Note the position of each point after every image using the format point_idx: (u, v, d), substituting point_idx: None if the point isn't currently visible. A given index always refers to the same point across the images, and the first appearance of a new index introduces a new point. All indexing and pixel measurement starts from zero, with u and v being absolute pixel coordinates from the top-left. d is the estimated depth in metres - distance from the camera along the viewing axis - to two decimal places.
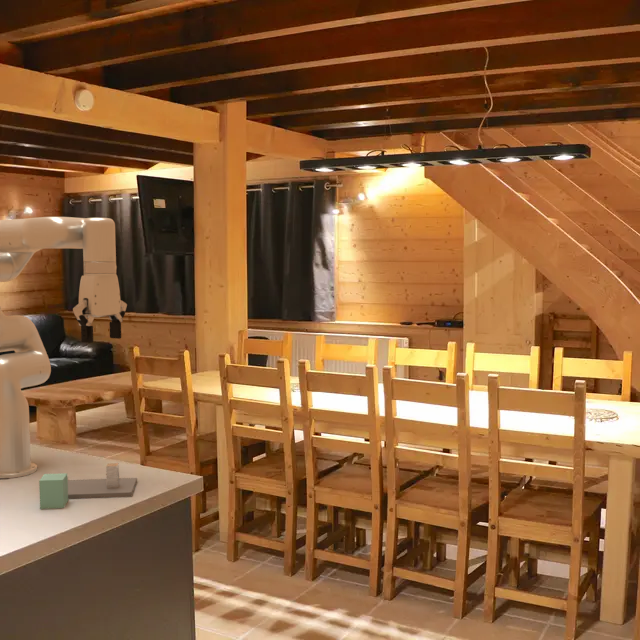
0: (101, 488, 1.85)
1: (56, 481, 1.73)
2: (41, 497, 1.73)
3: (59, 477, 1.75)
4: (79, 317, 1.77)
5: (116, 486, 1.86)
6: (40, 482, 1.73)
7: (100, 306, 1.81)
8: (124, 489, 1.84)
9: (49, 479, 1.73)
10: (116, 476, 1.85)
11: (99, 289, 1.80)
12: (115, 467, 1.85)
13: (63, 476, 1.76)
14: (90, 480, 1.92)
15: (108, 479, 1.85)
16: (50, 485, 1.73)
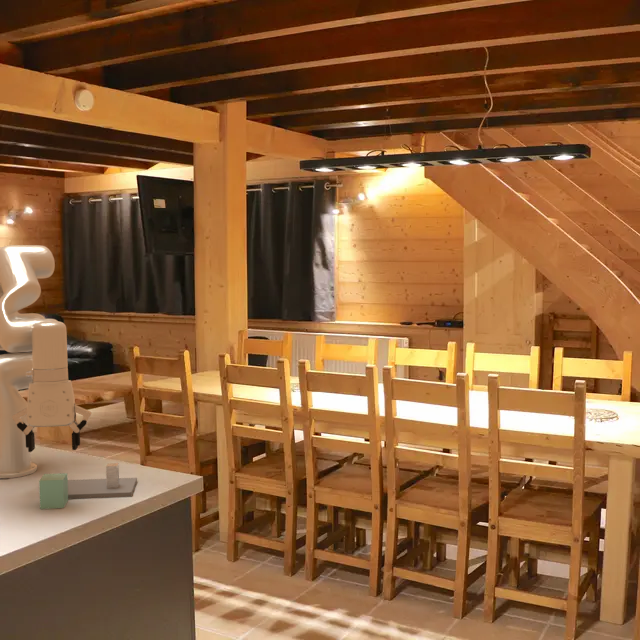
0: (101, 488, 1.85)
1: (56, 481, 1.73)
2: (41, 497, 1.73)
3: (59, 477, 1.75)
4: None
5: (116, 486, 1.86)
6: (40, 482, 1.73)
7: None
8: (124, 489, 1.84)
9: (49, 479, 1.73)
10: (116, 476, 1.85)
11: None
12: (115, 467, 1.85)
13: (63, 476, 1.76)
14: (90, 480, 1.92)
15: (108, 479, 1.85)
16: (50, 485, 1.73)
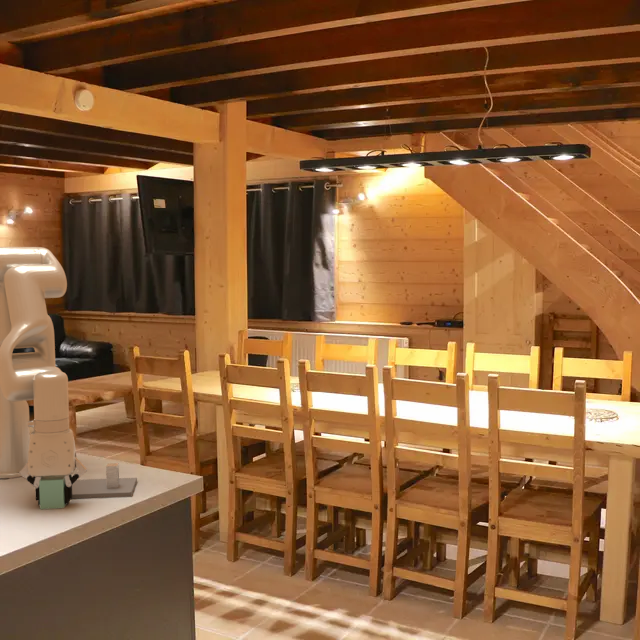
0: (101, 488, 1.85)
1: (56, 481, 1.73)
2: (41, 497, 1.73)
3: (59, 477, 1.75)
4: None
5: (116, 486, 1.86)
6: (40, 482, 1.73)
7: None
8: (124, 489, 1.84)
9: (49, 480, 1.73)
10: (116, 476, 1.85)
11: None
12: (115, 467, 1.85)
13: None
14: (90, 480, 1.92)
15: (108, 479, 1.85)
16: (50, 485, 1.73)
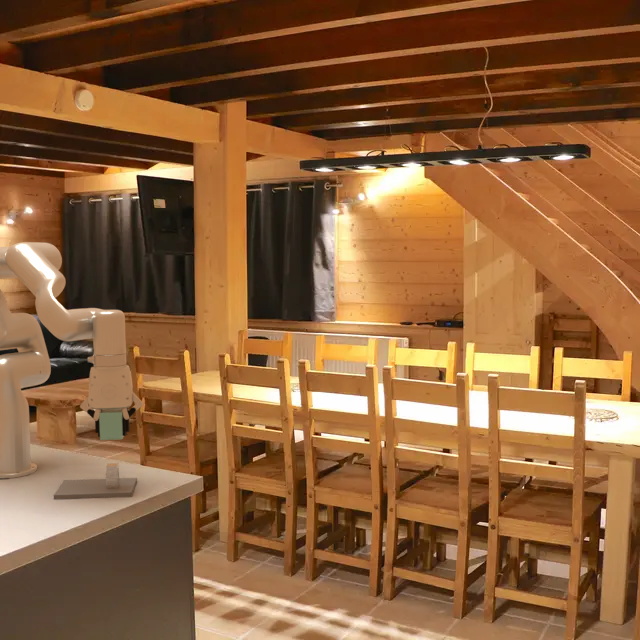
0: (101, 488, 1.85)
1: (115, 413, 1.82)
2: (101, 429, 1.82)
3: (117, 410, 1.84)
4: None
5: (116, 486, 1.86)
6: (100, 414, 1.82)
7: None
8: (124, 489, 1.84)
9: (108, 412, 1.82)
10: (116, 476, 1.85)
11: None
12: (115, 467, 1.85)
13: (121, 410, 1.85)
14: (90, 480, 1.92)
15: (108, 479, 1.85)
16: (109, 417, 1.82)
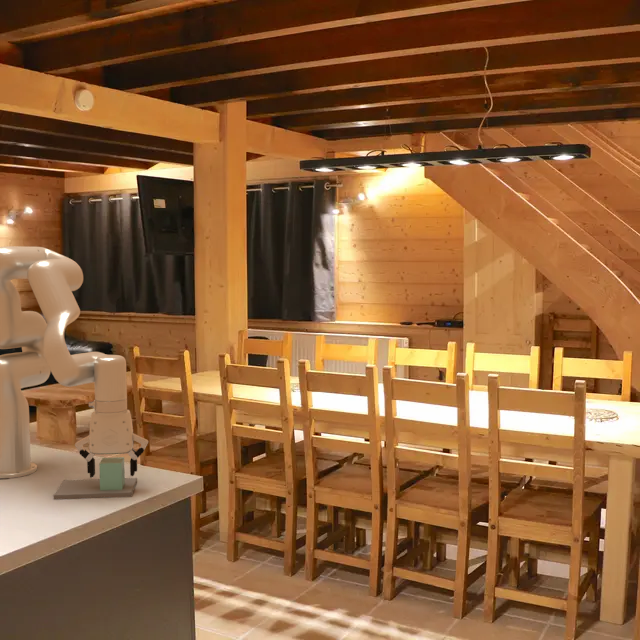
0: None
1: (115, 464, 1.84)
2: (101, 479, 1.84)
3: (117, 460, 1.86)
4: None
5: None
6: (100, 465, 1.83)
7: None
8: (124, 489, 1.84)
9: (108, 463, 1.84)
10: None
11: None
12: None
13: (121, 460, 1.86)
14: (90, 480, 1.92)
15: None
16: (109, 468, 1.84)
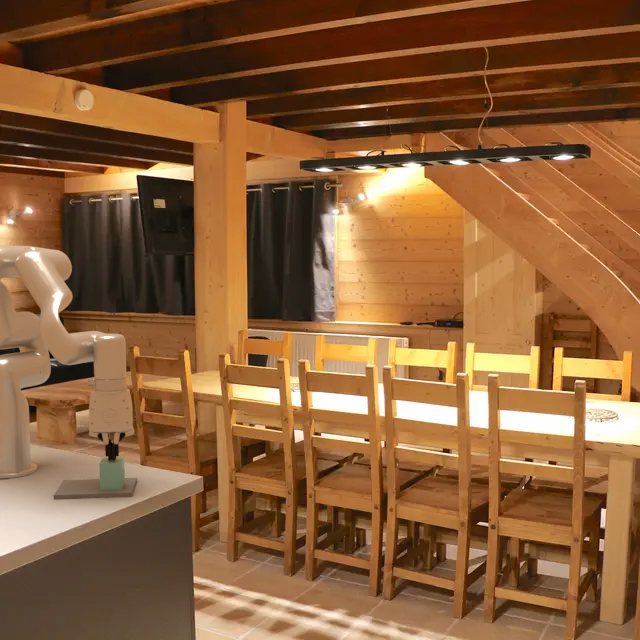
0: None
1: (115, 464, 1.84)
2: (101, 479, 1.84)
3: (117, 460, 1.86)
4: None
5: None
6: (100, 465, 1.83)
7: None
8: (124, 489, 1.84)
9: (108, 463, 1.84)
10: None
11: None
12: None
13: (121, 460, 1.86)
14: (90, 480, 1.92)
15: None
16: (109, 468, 1.84)
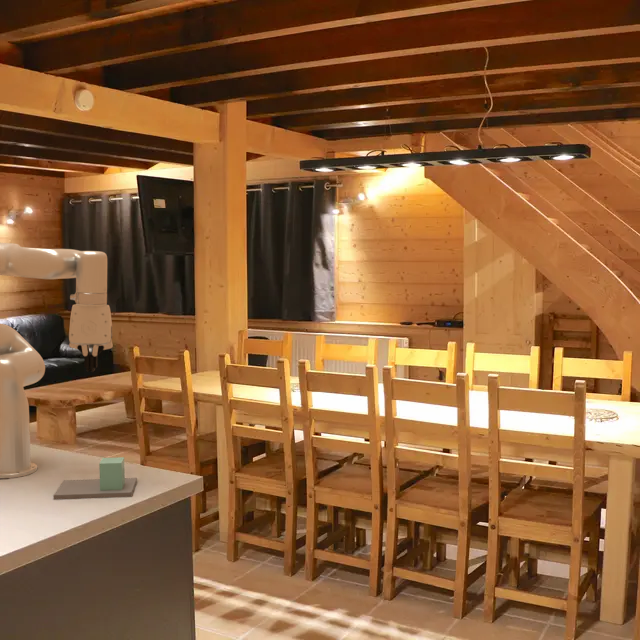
0: None
1: (115, 464, 1.84)
2: (101, 479, 1.84)
3: (117, 460, 1.86)
4: None
5: None
6: (100, 465, 1.83)
7: None
8: (124, 489, 1.84)
9: (108, 463, 1.84)
10: None
11: None
12: None
13: (121, 460, 1.86)
14: (90, 480, 1.92)
15: None
16: (109, 468, 1.84)
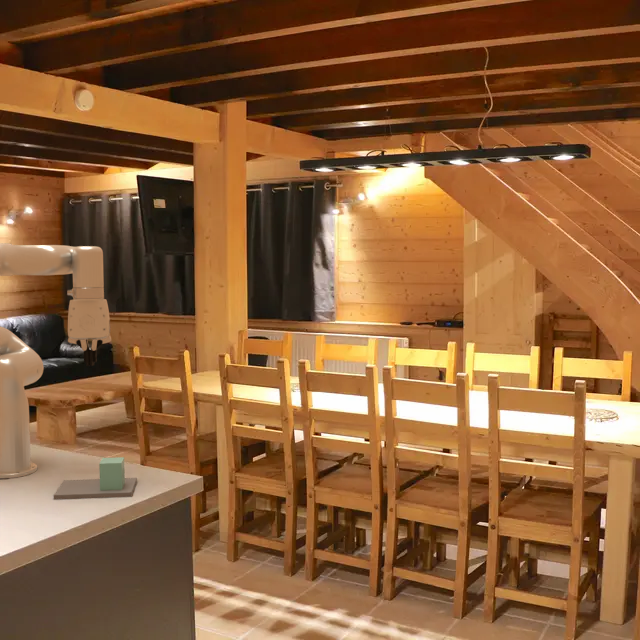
0: None
1: (115, 464, 1.84)
2: (101, 479, 1.84)
3: (117, 460, 1.86)
4: None
5: None
6: (100, 465, 1.83)
7: None
8: (124, 489, 1.84)
9: (108, 463, 1.84)
10: None
11: None
12: None
13: (121, 460, 1.86)
14: (90, 480, 1.92)
15: None
16: (109, 468, 1.84)
